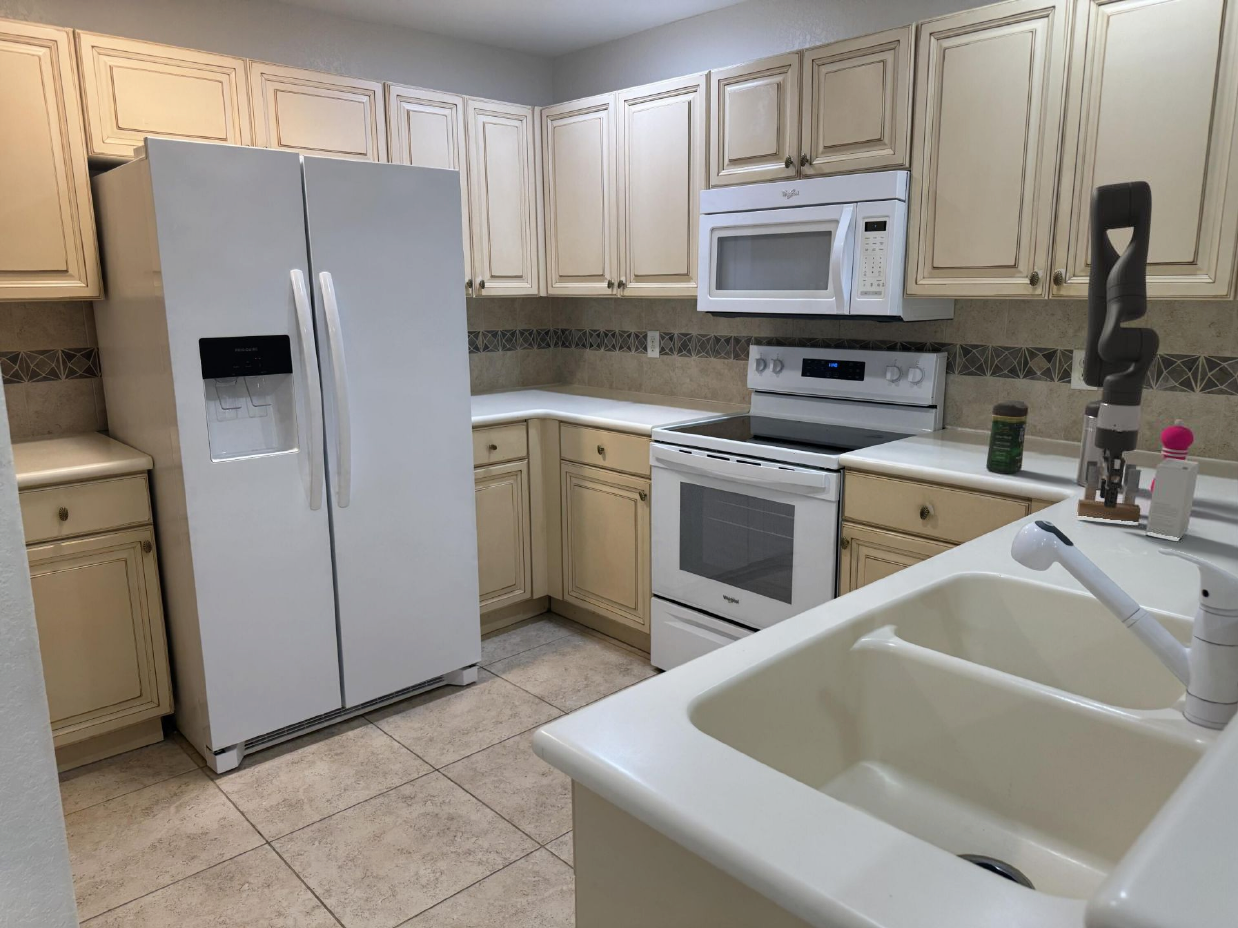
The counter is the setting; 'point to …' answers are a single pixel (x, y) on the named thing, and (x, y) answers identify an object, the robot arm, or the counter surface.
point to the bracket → (1129, 482)
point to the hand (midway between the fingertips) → (1107, 502)
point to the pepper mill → (1175, 442)
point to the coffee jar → (1007, 437)
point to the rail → (1108, 510)
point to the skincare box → (1172, 497)
